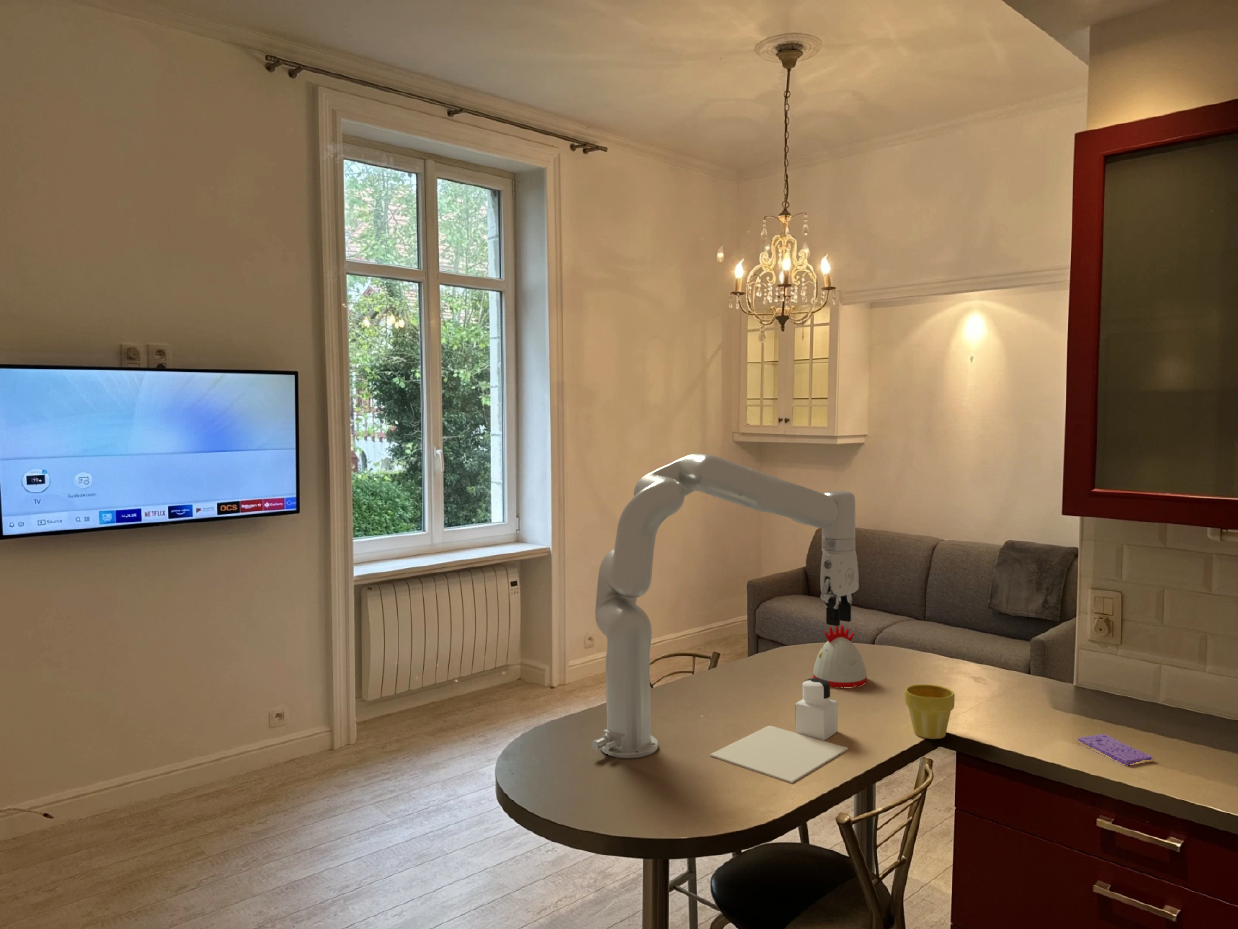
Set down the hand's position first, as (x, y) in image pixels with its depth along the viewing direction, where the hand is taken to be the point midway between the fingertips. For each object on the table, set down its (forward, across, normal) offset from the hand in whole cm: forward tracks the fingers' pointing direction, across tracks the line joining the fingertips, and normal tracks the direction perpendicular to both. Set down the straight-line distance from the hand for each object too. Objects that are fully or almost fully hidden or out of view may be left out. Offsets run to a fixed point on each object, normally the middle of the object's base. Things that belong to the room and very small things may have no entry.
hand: (838, 622), depth 196 cm
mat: (+23, -25, 0) cm, 34 cm away
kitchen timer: (+24, +27, +15) cm, 39 cm away
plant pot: (+24, +6, -19) cm, 31 cm away
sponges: (+24, +21, -52) cm, 61 cm away
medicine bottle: (+24, -10, 0) cm, 26 cm away
